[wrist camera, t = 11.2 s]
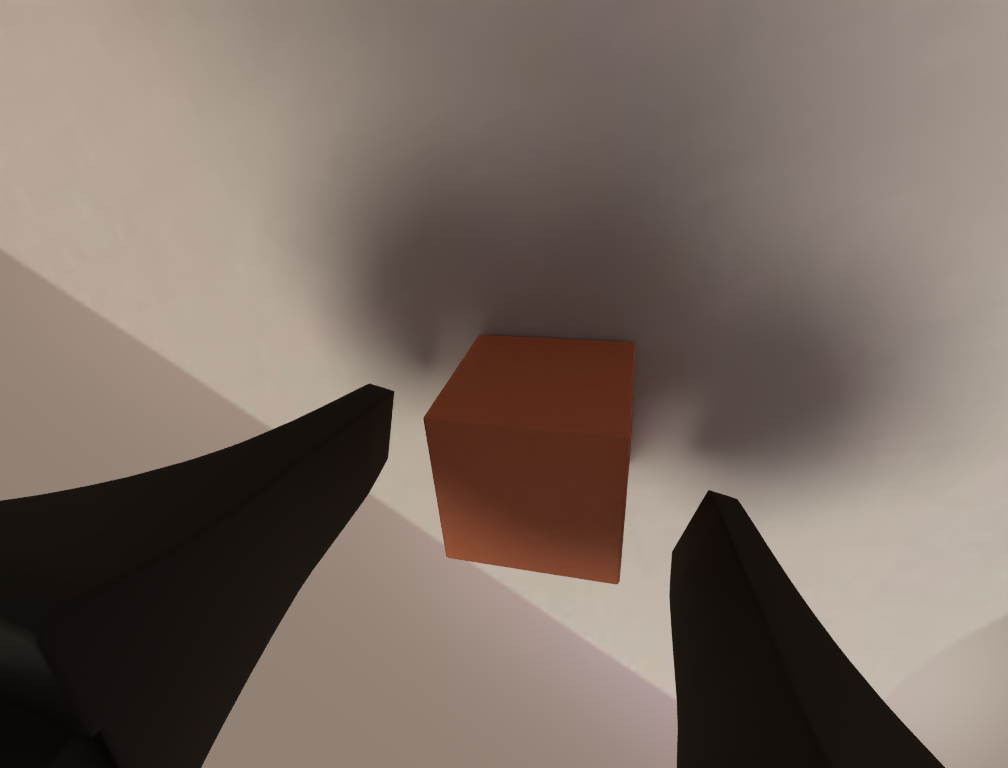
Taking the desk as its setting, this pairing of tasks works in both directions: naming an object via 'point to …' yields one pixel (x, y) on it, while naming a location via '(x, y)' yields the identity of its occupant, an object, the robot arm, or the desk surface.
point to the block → (535, 454)
